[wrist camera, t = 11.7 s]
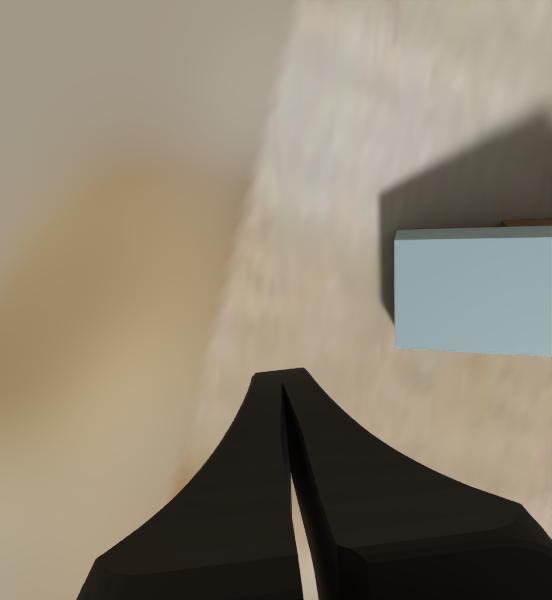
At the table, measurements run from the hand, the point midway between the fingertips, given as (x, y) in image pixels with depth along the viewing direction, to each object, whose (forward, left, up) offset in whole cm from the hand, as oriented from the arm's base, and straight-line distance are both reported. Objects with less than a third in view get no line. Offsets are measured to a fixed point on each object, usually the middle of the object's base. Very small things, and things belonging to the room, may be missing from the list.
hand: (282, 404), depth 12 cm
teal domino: (-5, 0, -7) cm, 8 cm away
